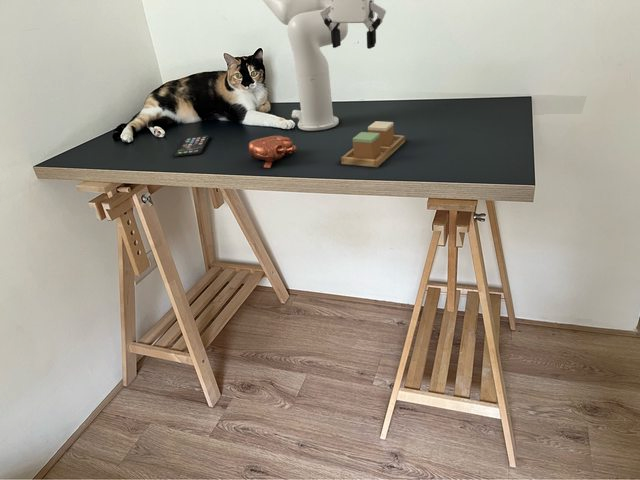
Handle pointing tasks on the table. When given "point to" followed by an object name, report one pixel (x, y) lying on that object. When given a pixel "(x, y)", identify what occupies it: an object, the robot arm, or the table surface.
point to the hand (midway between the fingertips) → (353, 47)
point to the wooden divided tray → (385, 153)
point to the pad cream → (383, 132)
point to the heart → (271, 149)
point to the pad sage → (367, 145)
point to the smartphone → (192, 145)
